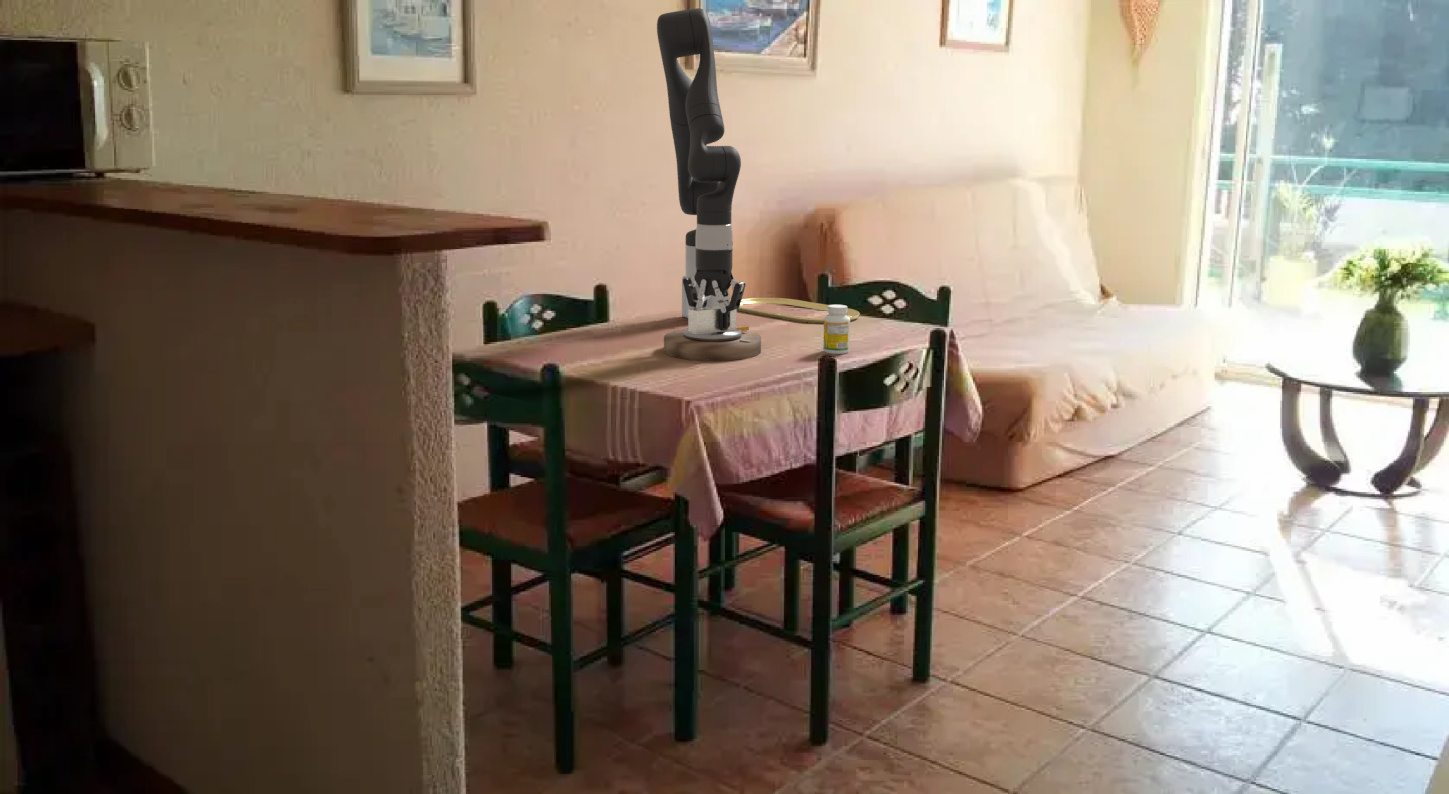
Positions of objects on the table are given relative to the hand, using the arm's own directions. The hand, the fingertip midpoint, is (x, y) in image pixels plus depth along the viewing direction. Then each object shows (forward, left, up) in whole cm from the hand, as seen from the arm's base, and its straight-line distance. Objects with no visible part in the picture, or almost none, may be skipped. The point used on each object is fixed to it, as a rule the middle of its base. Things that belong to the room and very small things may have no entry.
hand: (713, 328), depth 265 cm
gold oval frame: (-14, +50, -5) cm, 52 cm away
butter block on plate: (0, +1, -1) cm, 2 cm away
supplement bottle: (+20, +16, -5) cm, 26 cm away
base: (0, 0, -5) cm, 5 cm away
